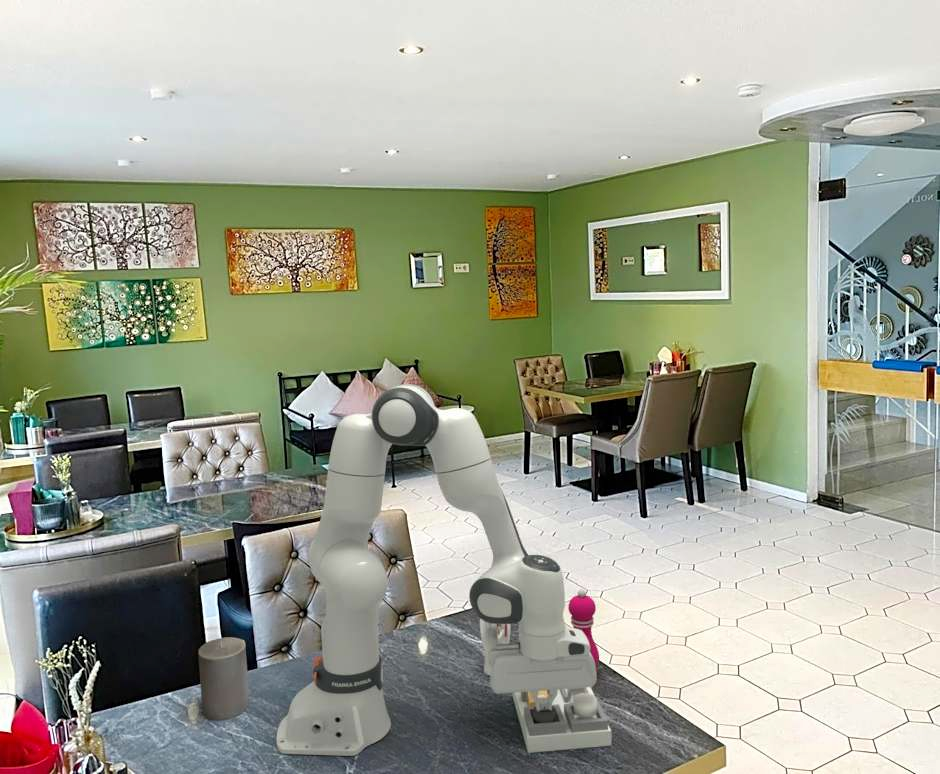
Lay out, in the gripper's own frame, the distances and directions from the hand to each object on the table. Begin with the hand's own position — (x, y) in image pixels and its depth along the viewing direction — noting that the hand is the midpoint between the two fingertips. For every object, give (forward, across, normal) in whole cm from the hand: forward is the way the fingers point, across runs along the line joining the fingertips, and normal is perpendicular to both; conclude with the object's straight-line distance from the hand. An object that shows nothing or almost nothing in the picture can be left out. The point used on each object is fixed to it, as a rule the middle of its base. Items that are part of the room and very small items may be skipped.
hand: (543, 709), depth 147 cm
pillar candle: (+7, -65, +21) cm, 68 cm away
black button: (+3, 0, 0) cm, 3 cm away
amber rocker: (+1, 0, +10) cm, 10 cm away
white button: (+1, +8, 0) cm, 8 cm away
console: (+6, +4, +6) cm, 10 cm away
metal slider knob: (+3, +8, +8) cm, 12 cm away
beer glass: (+6, -6, +28) cm, 29 cm away
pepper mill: (+6, +13, +23) cm, 27 cm away
